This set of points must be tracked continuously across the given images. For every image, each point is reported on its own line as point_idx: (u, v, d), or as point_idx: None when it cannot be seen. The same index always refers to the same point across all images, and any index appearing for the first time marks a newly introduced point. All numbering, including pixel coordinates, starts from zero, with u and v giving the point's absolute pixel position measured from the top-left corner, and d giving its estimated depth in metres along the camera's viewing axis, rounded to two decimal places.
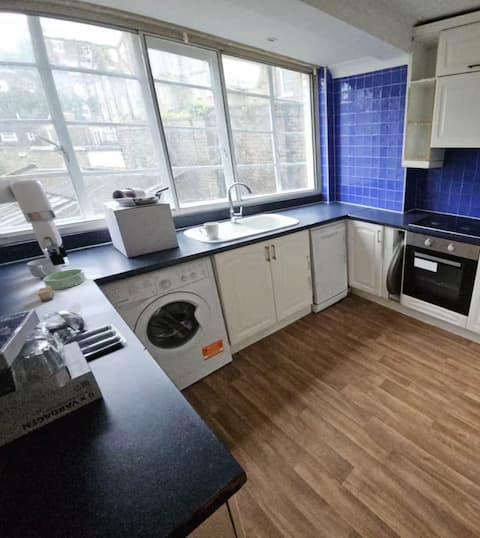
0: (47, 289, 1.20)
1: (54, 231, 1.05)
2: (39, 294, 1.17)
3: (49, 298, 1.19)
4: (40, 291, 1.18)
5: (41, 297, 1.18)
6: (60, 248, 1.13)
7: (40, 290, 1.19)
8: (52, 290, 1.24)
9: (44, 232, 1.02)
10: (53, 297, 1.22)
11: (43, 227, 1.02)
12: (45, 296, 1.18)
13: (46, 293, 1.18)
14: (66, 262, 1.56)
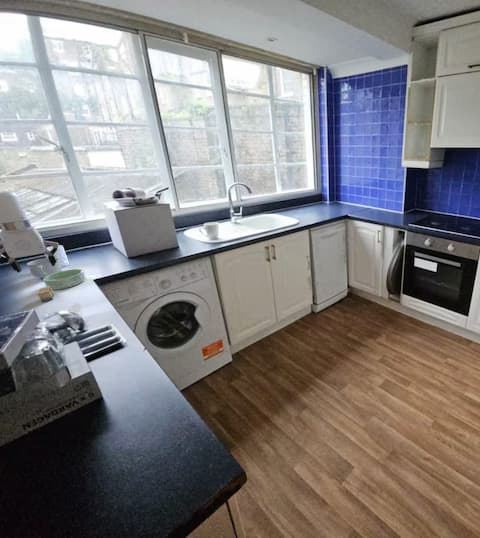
0: (47, 289, 1.20)
1: None
2: (39, 294, 1.17)
3: (49, 298, 1.19)
4: (40, 291, 1.18)
5: (41, 297, 1.18)
6: (16, 261, 1.12)
7: (40, 290, 1.19)
8: (52, 290, 1.24)
9: (40, 235, 1.13)
10: (53, 297, 1.22)
11: (37, 231, 1.13)
12: (45, 296, 1.18)
13: (46, 293, 1.18)
14: (66, 262, 1.56)
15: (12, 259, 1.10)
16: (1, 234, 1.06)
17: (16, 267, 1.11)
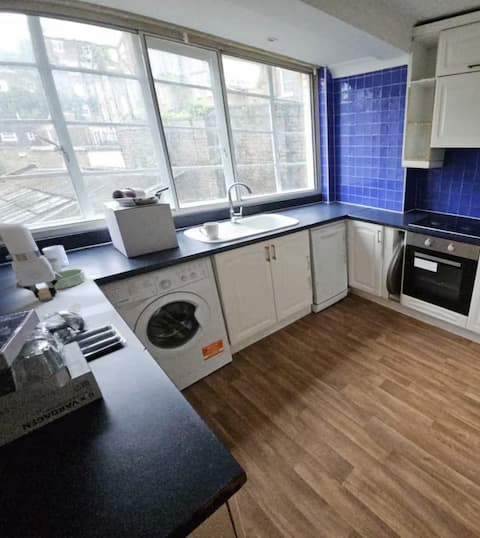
0: (47, 289, 1.20)
1: None
2: (39, 294, 1.17)
3: (49, 298, 1.19)
4: (40, 291, 1.18)
5: (41, 297, 1.18)
6: (38, 290, 1.19)
7: (40, 290, 1.19)
8: None
9: (49, 264, 1.19)
10: (53, 297, 1.22)
11: (47, 260, 1.18)
12: (45, 296, 1.18)
13: (46, 293, 1.18)
14: (66, 262, 1.56)
15: (35, 288, 1.17)
16: (13, 264, 1.11)
17: None
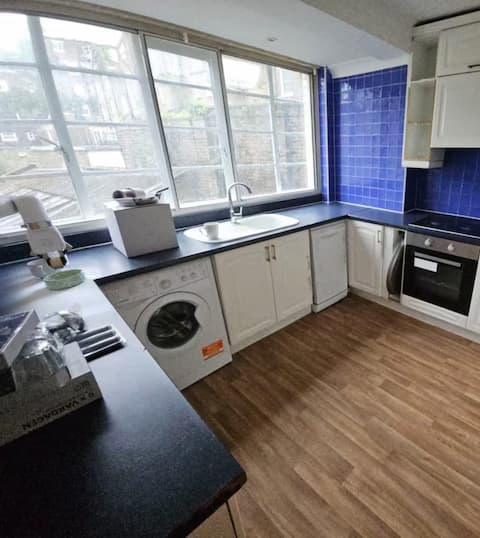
0: (58, 258, 1.28)
1: None
2: (51, 262, 1.25)
3: (60, 266, 1.28)
4: (52, 259, 1.26)
5: (53, 265, 1.26)
6: (50, 258, 1.27)
7: (52, 259, 1.27)
8: None
9: (60, 234, 1.27)
10: None
11: (58, 230, 1.26)
12: (57, 264, 1.27)
13: (58, 261, 1.27)
14: None
15: (47, 256, 1.25)
16: (27, 233, 1.19)
17: (50, 263, 1.26)
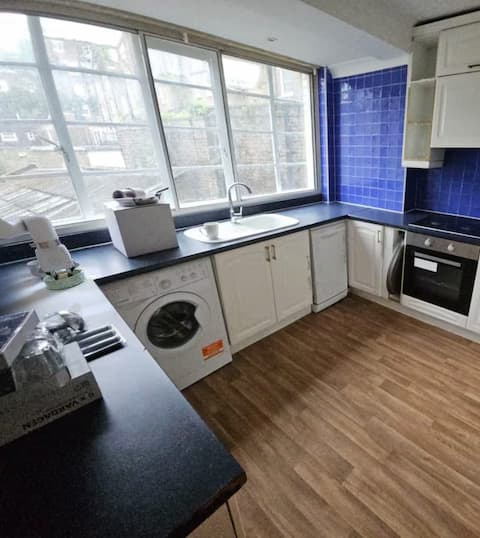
0: (66, 275, 1.32)
1: None
2: (59, 279, 1.29)
3: None
4: (60, 277, 1.30)
5: None
6: (58, 275, 1.31)
7: (60, 276, 1.31)
8: None
9: (68, 252, 1.30)
10: None
11: (66, 248, 1.30)
12: None
13: None
14: None
15: (55, 273, 1.29)
16: (36, 252, 1.23)
17: None
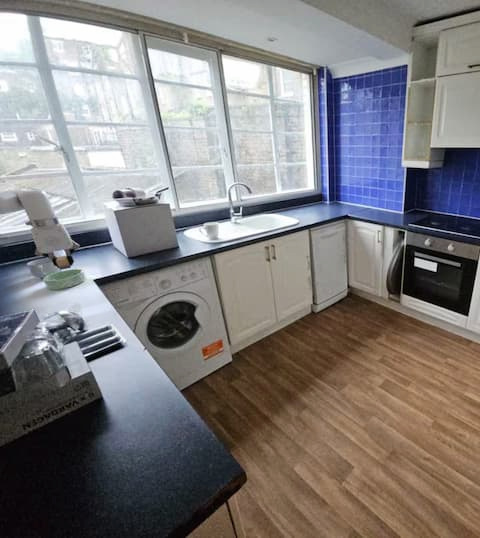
0: (65, 257, 1.21)
1: None
2: (57, 261, 1.18)
3: (67, 266, 1.20)
4: (58, 259, 1.19)
5: (59, 264, 1.19)
6: (56, 258, 1.20)
7: (58, 258, 1.20)
8: None
9: (67, 232, 1.20)
10: (70, 266, 1.23)
11: (65, 228, 1.19)
12: (63, 264, 1.19)
13: (64, 261, 1.19)
14: None
15: (53, 255, 1.18)
16: (32, 230, 1.12)
17: (56, 263, 1.19)
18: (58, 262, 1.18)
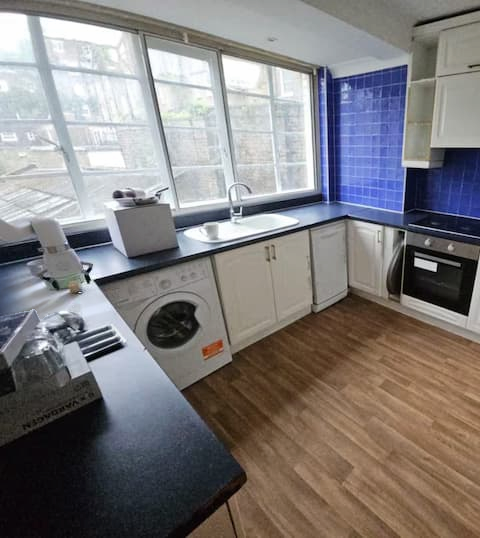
0: (76, 283, 1.25)
1: None
2: (69, 287, 1.22)
3: (78, 291, 1.25)
4: (70, 285, 1.23)
5: (71, 290, 1.23)
6: (56, 280, 1.22)
7: (70, 283, 1.24)
8: (80, 284, 1.29)
9: None
10: None
11: (75, 253, 1.23)
12: (75, 289, 1.24)
13: (76, 286, 1.24)
14: None
15: (53, 279, 1.20)
16: (44, 256, 1.16)
17: (56, 286, 1.21)
18: (70, 288, 1.23)
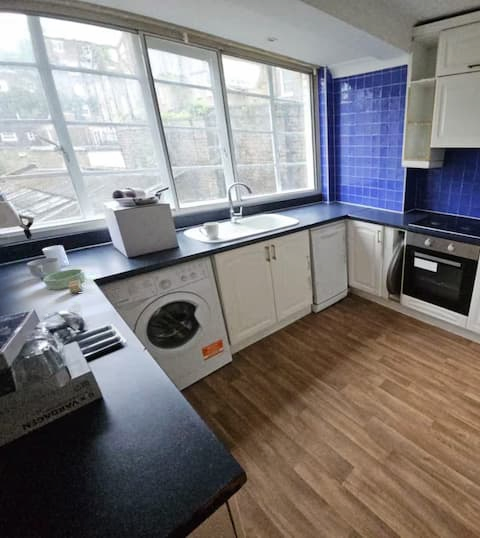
0: (76, 283, 1.25)
1: None
2: (69, 287, 1.22)
3: (78, 291, 1.25)
4: (70, 285, 1.23)
5: (71, 290, 1.23)
6: None
7: (70, 283, 1.24)
8: (80, 284, 1.29)
9: (15, 209, 1.19)
10: None
11: None
12: (75, 289, 1.24)
13: (76, 286, 1.24)
14: (66, 262, 1.56)
15: None
16: None
17: None
18: (70, 288, 1.23)
